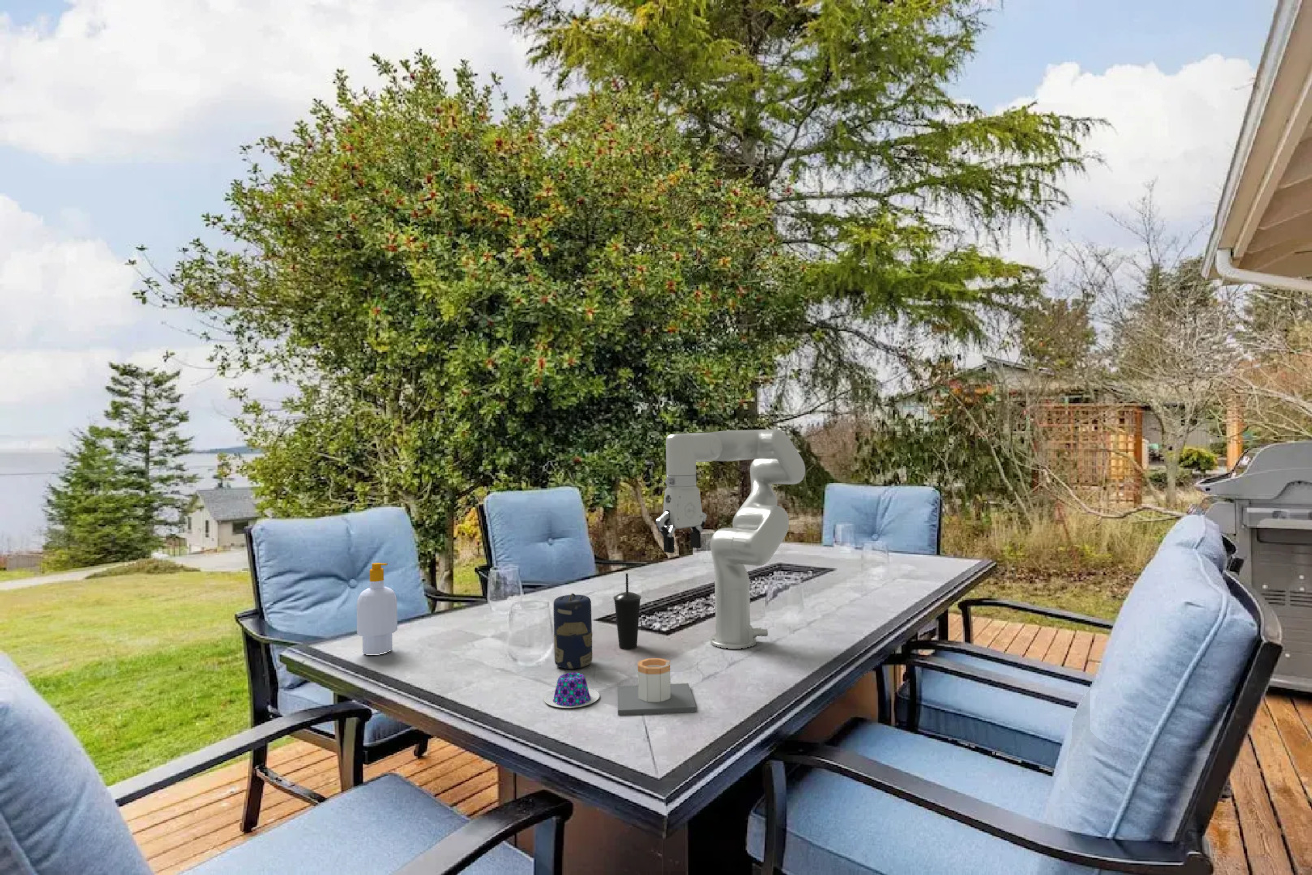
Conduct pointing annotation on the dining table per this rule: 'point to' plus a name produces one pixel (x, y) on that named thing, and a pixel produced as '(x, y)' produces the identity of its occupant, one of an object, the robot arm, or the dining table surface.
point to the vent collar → (654, 679)
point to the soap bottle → (377, 613)
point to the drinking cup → (627, 617)
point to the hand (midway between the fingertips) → (682, 550)
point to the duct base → (677, 703)
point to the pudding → (572, 692)
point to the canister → (572, 631)
